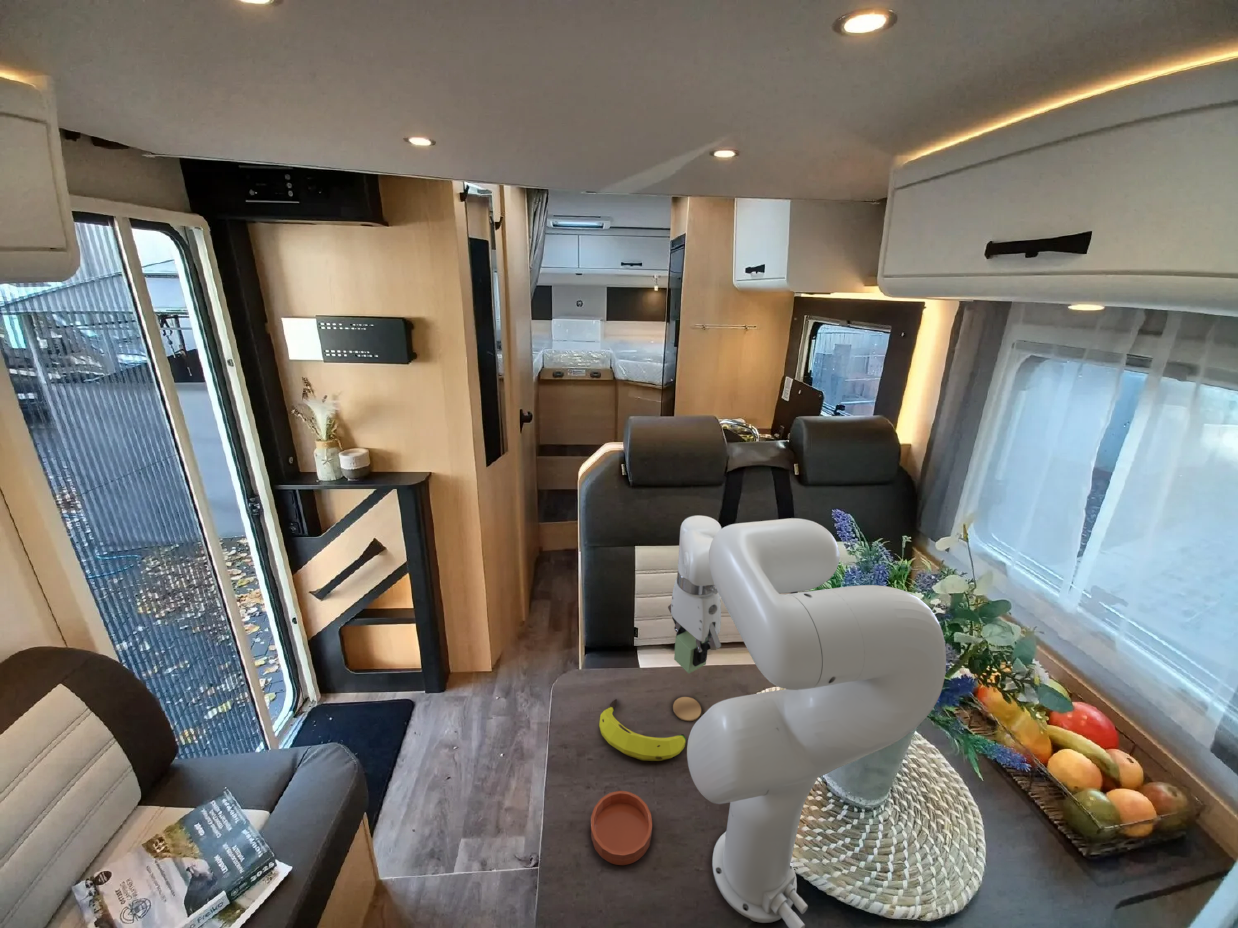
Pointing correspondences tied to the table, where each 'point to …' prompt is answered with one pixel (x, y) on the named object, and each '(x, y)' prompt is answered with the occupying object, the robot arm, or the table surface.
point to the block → (686, 651)
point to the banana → (638, 740)
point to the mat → (687, 709)
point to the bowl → (621, 827)
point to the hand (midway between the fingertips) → (690, 653)
